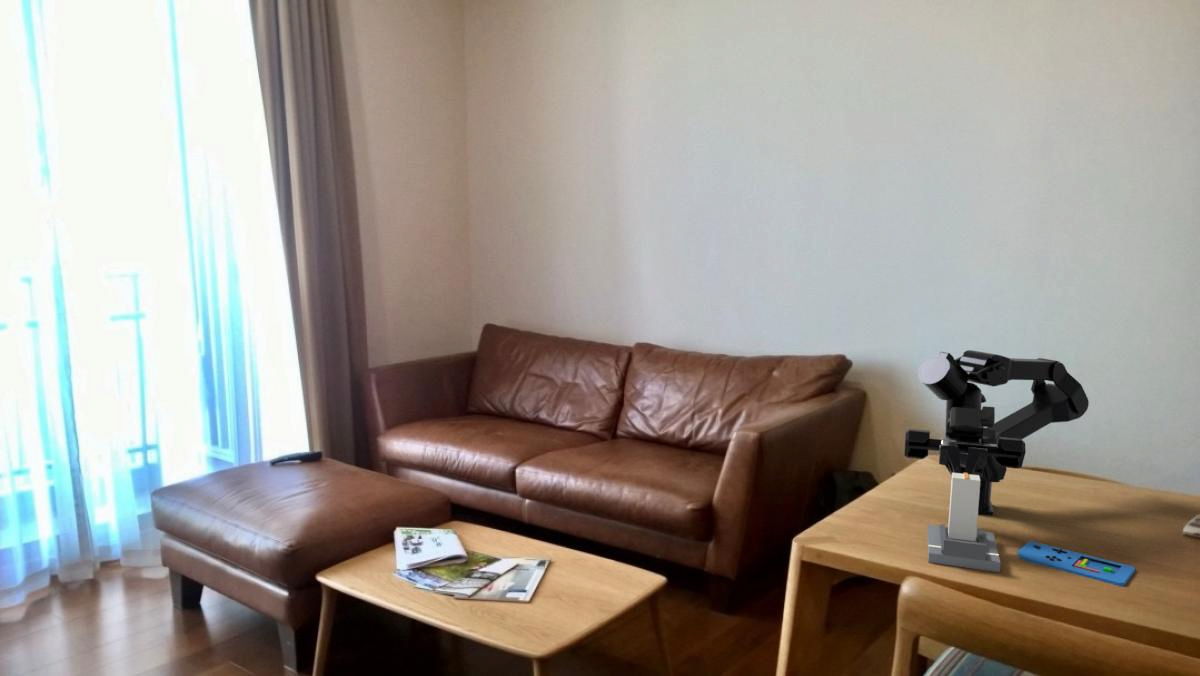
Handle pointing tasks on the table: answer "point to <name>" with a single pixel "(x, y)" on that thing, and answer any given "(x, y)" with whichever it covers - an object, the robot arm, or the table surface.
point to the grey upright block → (964, 506)
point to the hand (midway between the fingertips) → (962, 492)
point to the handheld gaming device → (1077, 563)
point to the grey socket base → (963, 550)
